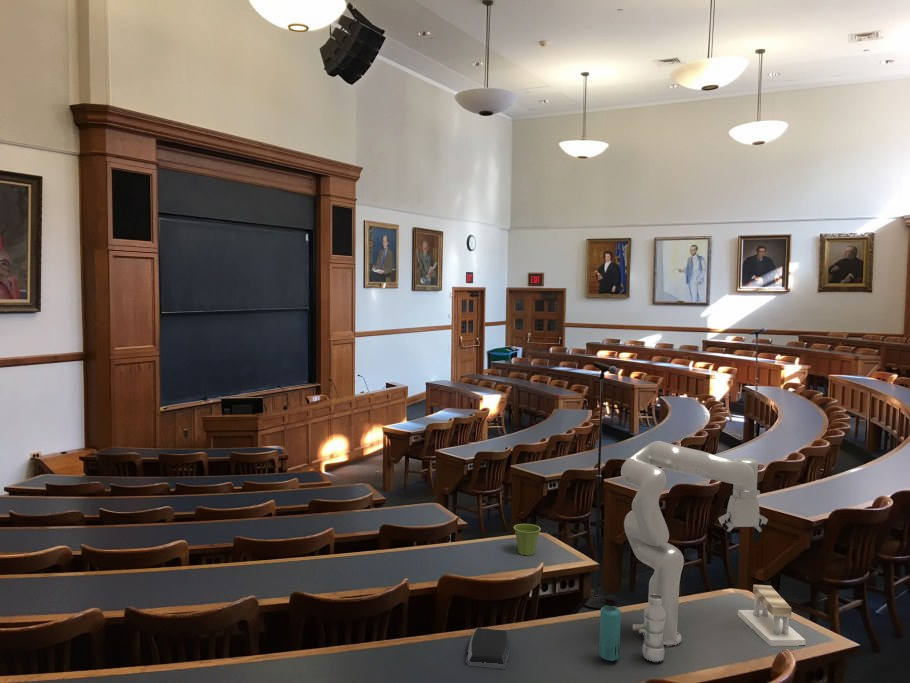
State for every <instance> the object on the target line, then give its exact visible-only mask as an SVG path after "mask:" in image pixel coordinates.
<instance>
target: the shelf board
mask: <svg viewBox="0 0 910 683" xmlns="http://www.w3.org/2000/svg"><path fill="white" fill-rule="evenodd" d="M752 586H753V588H752V594H753V595H754V597H755V596H756V597H757V598H758V600H759V601H760V604H762V606H763V605H764V607H765V608H766V609H767V610H768V611H769V613H770V614H771V615H772V616H780V617H782V618H783V617H789V618H791V617H792V607H791V606H790V605H789V603H788V602H786V600H785V599H784V598H783V597H782V596H781V595H780V594H779V593H778V592H777V591H776V589H774V587H773V586H772V585H764V584H753V585H752Z"/></svg>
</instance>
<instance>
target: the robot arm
mask: <svg viewBox="0 0 910 683" xmlns="http://www.w3.org/2000/svg"><path fill="white" fill-rule="evenodd" d="M662 468H663V469H665V470H668V471H671V472H675V473H681V474H684V475H690V476H694V477H698V478H702V479H707V480H713V481H718V482H723V483H727V484H732V485H733V486H732V487H733V488H732V495H730V496H729V500H728V503H727V510H726V513H725V514H723V515H721V516H719V517H718V521H719V523H720V526H722V528H723V529H724V530H725V531H724V532H725V533H724V539H725V541H726V542H727V543H729V544H732V542H733V532H732V530H733V529H734V528H736V527H742V528H744V527H745V528H746V527H747V528H749V527H751V528H753V529H752V536H751V537H752V538H751V540H752V541H753V542H754V543H756V544H759V542H760V541H759V540H760V536H761V532H762V531H763V529H764V528H765V527H766V524H767V523H768V521H769V519H768V518H766V517H765V516H764V515H762V514H760V504H759V503H760V502H759V499H758V498H757V496H758V495H760V494H761V491H760V490H759V489H758V473H759V472H758V471H759V470H758V469H759V463H758V461H757V460H756V459H754V458H752V457H743V456H740V457H737V458H734V457H733V458H732V457H720V456H717V455H716V454H712V453H709V452H705V451H703V450H699V449H693V448H689V447H685V446H680V445H677V444H672V443H669V442H665V441H662V440H655V441H652V442H651V443H648V444H646V445H645V446H644V447H642V448H641V449H640V450H638V451H637V452H636V453H634V454H632V455H631V456H630V457H628V458H627V459H626V460H624V462H623V464H622V465H621V470H620V475H621V478H622V480H623V481H624V482H625V483H627V484H628V485H632V486H633V487H636V488H638V490H637V492H636V493H635V495H634V497H633V499H632V502H631V510H630V511H629V512H628V513H627V514H626V515H625V517H624V521H623V528H624V533H625V534H626V538H627V541H628V543H629V545H630V547H631V549H632V551H633V553H634V556H635V557H636V559H638V561H640V562H641V563H643V564H645V565H646V566H648V567H650V568H652V569H653V570H654V572H653V575H652V576H651V577H650V579H649V583H648V602H647V605H648V604H649V597H650V595H652V594H655V595H659V596H661V597H662V604H661V606H662V607H663V609H664V611H665V614H666V618H665V623H664V630H663V645H671V646H670V647H673V646H672V645H675V646H678V645H679V643H680V644H681V643H682V639H683V638H682V635H681V634H680V632H678V617H679V616H678V615H679V597H680V596H679V594H680V581H681V575H682V571H683V567H684V562H685V558H684V555H683V553H682V551H681V550H680V549H678V547H676V546H675V545H673V544H672V543H671V544H670V543H669V542H668V541H669V538H670V532H669V529H668V528H669V527H668V526H667V522H666V521H665V520H666V519H665V518H664V516H663V513H662V511H661V508H660V503H659V501H660V497H661V495H662V493H663V491H664V489H665V486H666V484H667V475H666V472H665V471H664V470H663V469H662ZM760 520H761V521H760ZM725 521H726V522H727V523H726V522H725ZM643 622H644V623H641V624H638V623H633V624H632V631H638V633H639V634H642V633H643V635H644V636H645V620H643ZM677 644H678V645H677Z"/></svg>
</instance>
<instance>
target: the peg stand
mask: <svg viewBox="0 0 910 683" xmlns="http://www.w3.org/2000/svg"><path fill="white" fill-rule="evenodd" d="M753 602H754V603H753V609H738V610H737V616H738V617H739V618H740V619H741V620H742V621H743V622H744V623H745V624H746V625H747V626H749V628H750V629H751V630H752V631H753V632H755V633H756V634H757V636H759V637H760V638H761V639H762V640H763V641H764V642H765V643H766V644H767V645H768V646H770V647H800V646H799V645H805V646H806V643H807V642H806V639H805V638H804V637H803V636H801V634H799V633H798V632H797V631H796V630H795V629H793V628H792V627H791V626H790V625H789V624H790V617H783V616H782V618H781V616H772V615H771V614H770V613H769V611H768V610H767V609H766V608H765V607H764V605H763V604H762V609H760V607H761V602H760V601H759V600H758V598H757V597H756V596H755V595H754V599H753Z"/></svg>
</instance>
